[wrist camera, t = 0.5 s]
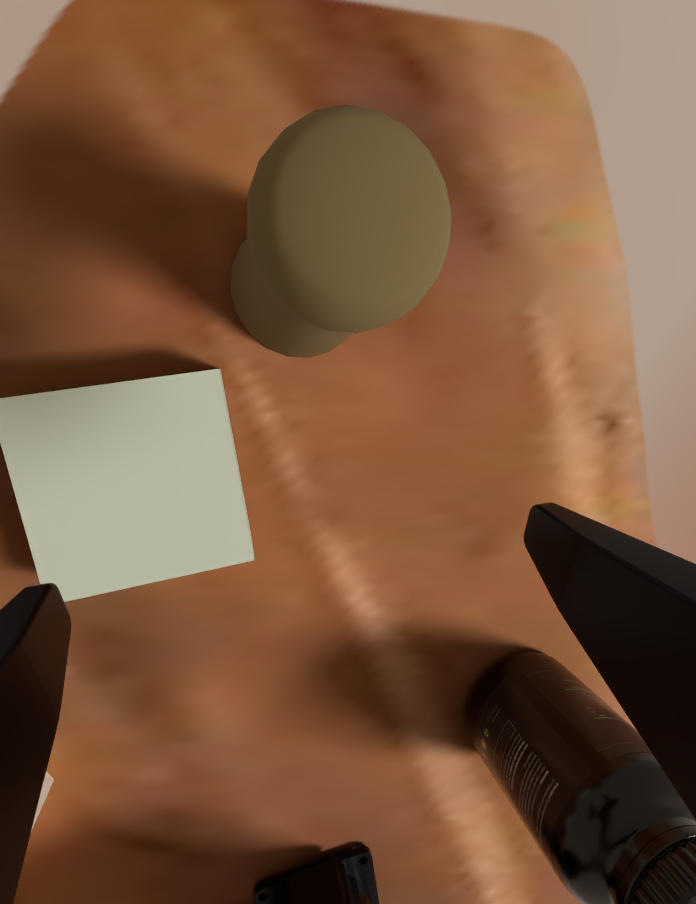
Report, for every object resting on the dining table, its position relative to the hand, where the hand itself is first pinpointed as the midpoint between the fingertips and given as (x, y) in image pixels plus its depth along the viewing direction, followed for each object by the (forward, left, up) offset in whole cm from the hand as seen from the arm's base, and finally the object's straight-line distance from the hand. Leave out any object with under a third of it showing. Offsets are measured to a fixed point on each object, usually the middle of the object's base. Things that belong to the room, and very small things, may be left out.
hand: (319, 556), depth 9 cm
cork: (+7, -3, -14) cm, 15 cm away
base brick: (0, +5, -13) cm, 14 cm away
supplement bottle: (-17, -12, -14) cm, 25 cm away
